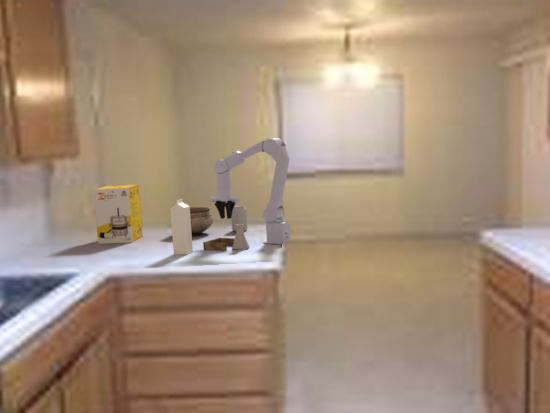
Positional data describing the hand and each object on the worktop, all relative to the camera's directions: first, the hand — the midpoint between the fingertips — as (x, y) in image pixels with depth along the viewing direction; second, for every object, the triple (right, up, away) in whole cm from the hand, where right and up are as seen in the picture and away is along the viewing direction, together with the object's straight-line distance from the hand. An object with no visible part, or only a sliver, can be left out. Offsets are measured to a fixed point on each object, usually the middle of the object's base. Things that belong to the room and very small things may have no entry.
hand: (226, 218), depth 307 cm
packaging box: (-51, -11, +24) cm, 57 cm away
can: (+4, -7, +33) cm, 34 cm away
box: (0, -12, -12) cm, 17 cm away
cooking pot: (-17, -8, +30) cm, 35 cm away
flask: (+7, -12, -17) cm, 22 cm away
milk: (-16, -14, -20) cm, 29 cm away
